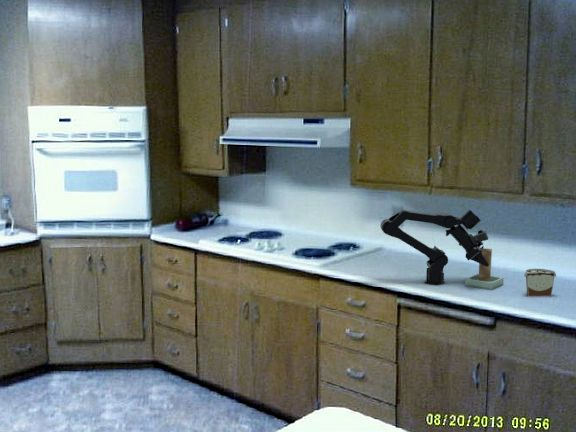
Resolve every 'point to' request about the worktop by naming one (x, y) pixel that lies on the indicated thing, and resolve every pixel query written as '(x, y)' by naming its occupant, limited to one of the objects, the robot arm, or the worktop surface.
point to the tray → (484, 282)
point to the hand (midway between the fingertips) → (488, 264)
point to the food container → (539, 282)
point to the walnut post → (483, 270)
